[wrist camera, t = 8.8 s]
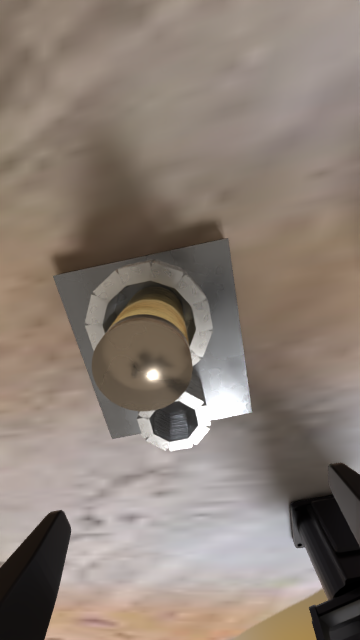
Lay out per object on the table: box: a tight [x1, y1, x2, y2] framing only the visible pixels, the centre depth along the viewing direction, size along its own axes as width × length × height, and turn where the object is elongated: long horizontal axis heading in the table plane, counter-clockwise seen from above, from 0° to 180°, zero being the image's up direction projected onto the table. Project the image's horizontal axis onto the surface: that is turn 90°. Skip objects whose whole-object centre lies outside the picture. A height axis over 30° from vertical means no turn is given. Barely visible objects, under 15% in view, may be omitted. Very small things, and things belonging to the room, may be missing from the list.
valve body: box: [92, 287, 193, 411], centre depth 13 cm, size 4×4×8 cm
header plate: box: [53, 238, 252, 451], centre depth 17 cm, size 14×12×4 cm
